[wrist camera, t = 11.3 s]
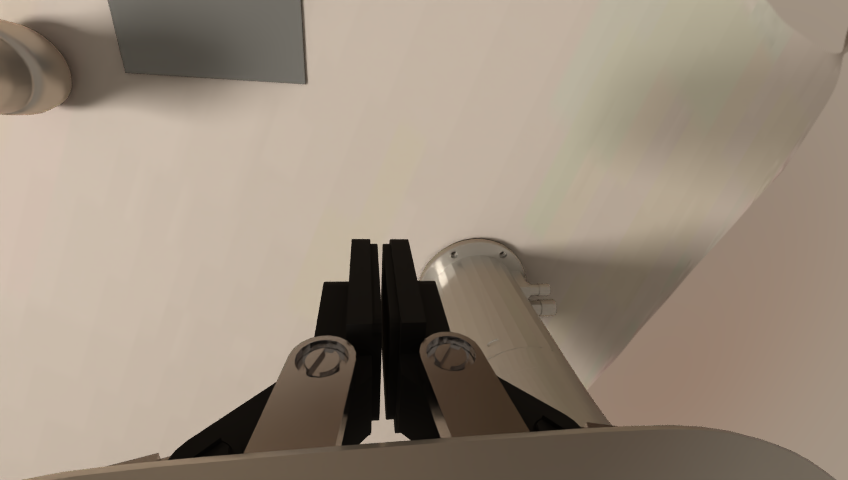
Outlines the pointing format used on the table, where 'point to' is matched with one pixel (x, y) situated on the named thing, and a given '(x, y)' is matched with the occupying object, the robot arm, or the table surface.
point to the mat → (212, 38)
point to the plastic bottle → (30, 72)
